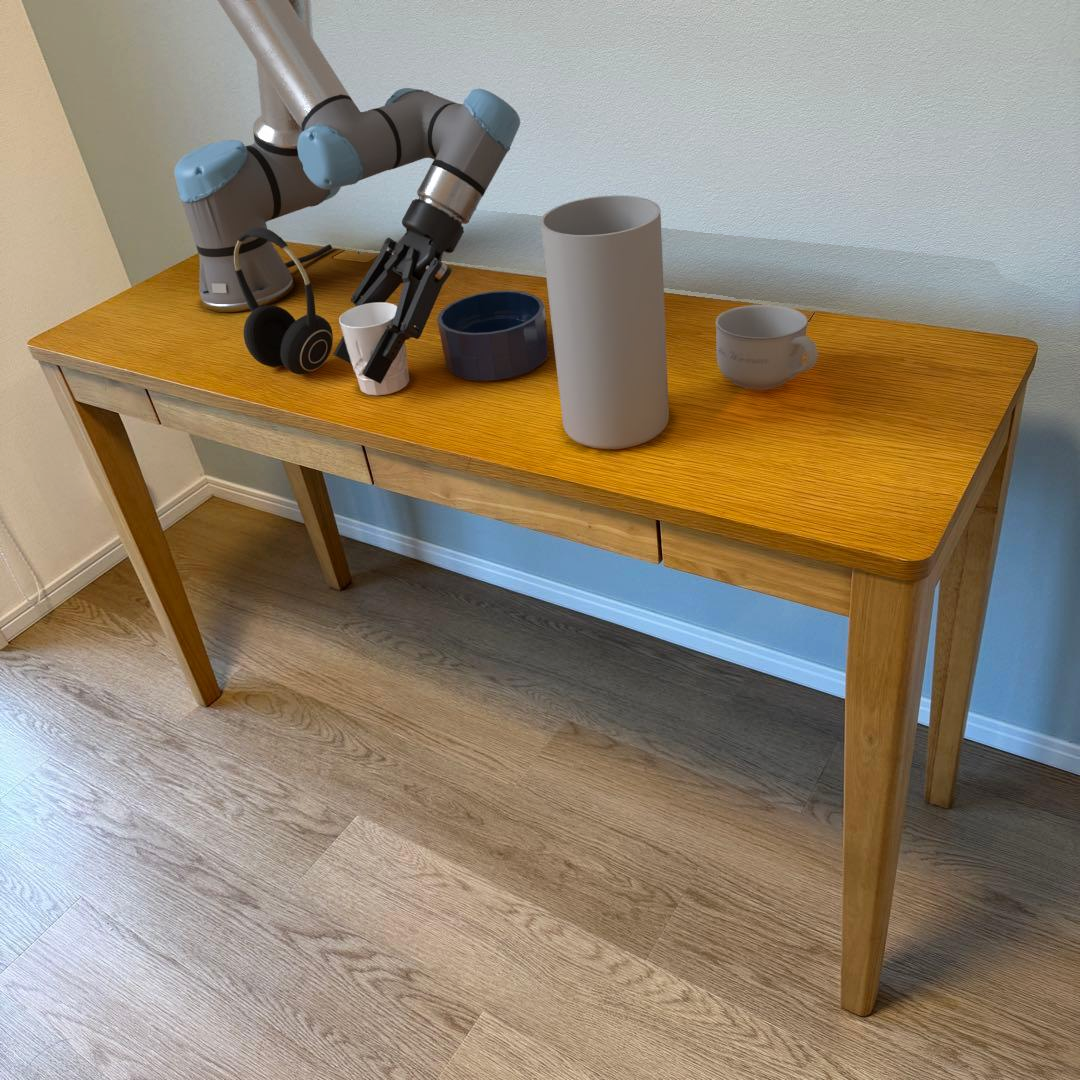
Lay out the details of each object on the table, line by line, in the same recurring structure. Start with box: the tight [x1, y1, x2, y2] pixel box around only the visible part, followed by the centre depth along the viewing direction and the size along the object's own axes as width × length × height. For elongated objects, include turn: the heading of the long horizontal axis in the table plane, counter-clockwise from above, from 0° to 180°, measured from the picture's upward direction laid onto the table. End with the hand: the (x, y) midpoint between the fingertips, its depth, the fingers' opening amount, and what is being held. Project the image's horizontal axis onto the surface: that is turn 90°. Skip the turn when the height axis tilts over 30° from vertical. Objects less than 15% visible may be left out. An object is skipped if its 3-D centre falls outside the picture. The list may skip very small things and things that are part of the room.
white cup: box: [338, 301, 410, 397], centre depth 131 cm, size 8×8×10 cm
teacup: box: [715, 304, 819, 391], centre depth 120 cm, size 14×11×8 cm
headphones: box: [234, 228, 334, 376], centre depth 136 cm, size 9×15×20 cm, turn 54°
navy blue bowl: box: [436, 289, 550, 382], centre depth 135 cm, size 14×14×7 cm
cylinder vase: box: [539, 194, 670, 450], centre depth 111 cm, size 12×12×25 cm
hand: (356, 368), depth 131 cm, fingers closed on white cup, 8 cm apart
